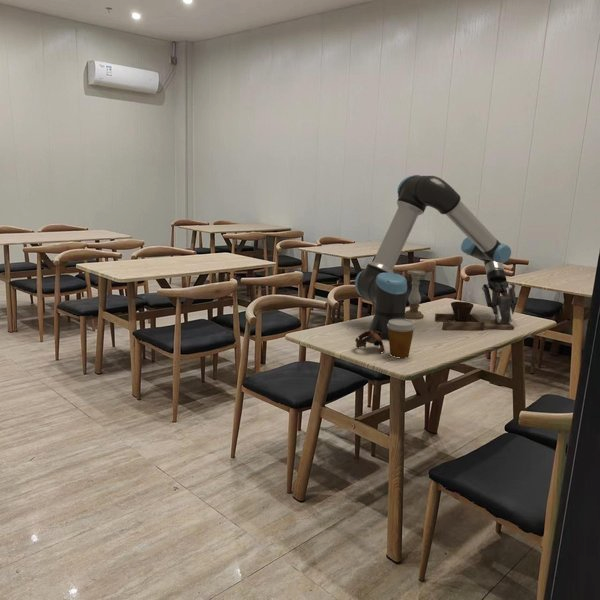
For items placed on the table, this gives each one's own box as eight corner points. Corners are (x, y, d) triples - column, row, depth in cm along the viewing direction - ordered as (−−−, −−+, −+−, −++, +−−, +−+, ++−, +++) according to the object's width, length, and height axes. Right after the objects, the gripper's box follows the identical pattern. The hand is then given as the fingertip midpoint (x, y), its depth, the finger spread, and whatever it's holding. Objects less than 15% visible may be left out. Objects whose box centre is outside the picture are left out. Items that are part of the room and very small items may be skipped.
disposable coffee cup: (418, 355, 187) (420, 321, 185) (404, 362, 180) (406, 327, 178) (394, 349, 193) (396, 316, 191) (380, 355, 186) (381, 322, 184)
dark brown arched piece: (381, 358, 186) (370, 338, 184) (359, 364, 191) (348, 345, 190) (393, 340, 195) (382, 321, 193) (371, 347, 201) (361, 328, 199)
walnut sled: (442, 329, 219) (445, 299, 216) (434, 320, 232) (436, 292, 230) (515, 330, 218) (518, 301, 216) (503, 321, 232) (506, 293, 229)
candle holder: (400, 314, 242) (402, 269, 237) (418, 313, 243) (421, 269, 239) (408, 319, 233) (410, 273, 229) (427, 319, 235) (430, 272, 230)
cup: (478, 327, 221) (476, 303, 219) (456, 330, 221) (454, 306, 219) (470, 322, 230) (468, 299, 228) (449, 325, 229) (447, 302, 227)
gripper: (512, 278, 236) (523, 325, 224) (473, 278, 236) (481, 324, 224) (518, 268, 230) (529, 316, 218) (478, 268, 230) (487, 315, 218)
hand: (505, 320), depth 221 cm, fingers open, 4 cm apart
